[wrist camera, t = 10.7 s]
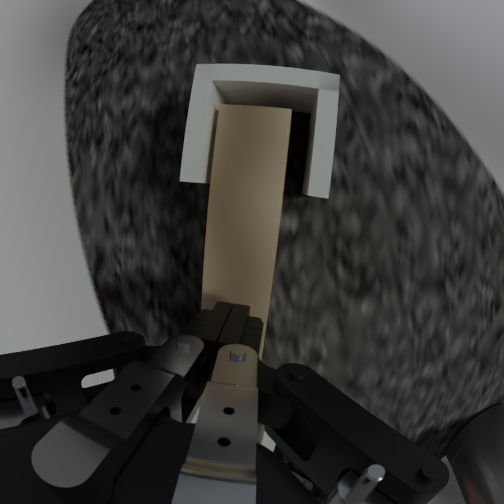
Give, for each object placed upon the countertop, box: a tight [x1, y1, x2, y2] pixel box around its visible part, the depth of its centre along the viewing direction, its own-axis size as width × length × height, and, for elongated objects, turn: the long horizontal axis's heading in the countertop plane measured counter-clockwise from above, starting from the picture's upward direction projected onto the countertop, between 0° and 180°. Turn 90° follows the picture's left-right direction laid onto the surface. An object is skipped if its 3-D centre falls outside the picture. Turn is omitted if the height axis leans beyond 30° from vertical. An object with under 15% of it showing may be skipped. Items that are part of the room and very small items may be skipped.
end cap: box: [180, 64, 340, 198], centre depth 14 cm, size 7×6×4 cm
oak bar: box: [199, 104, 292, 410], centre depth 16 cm, size 3×18×4 cm, turn 173°
